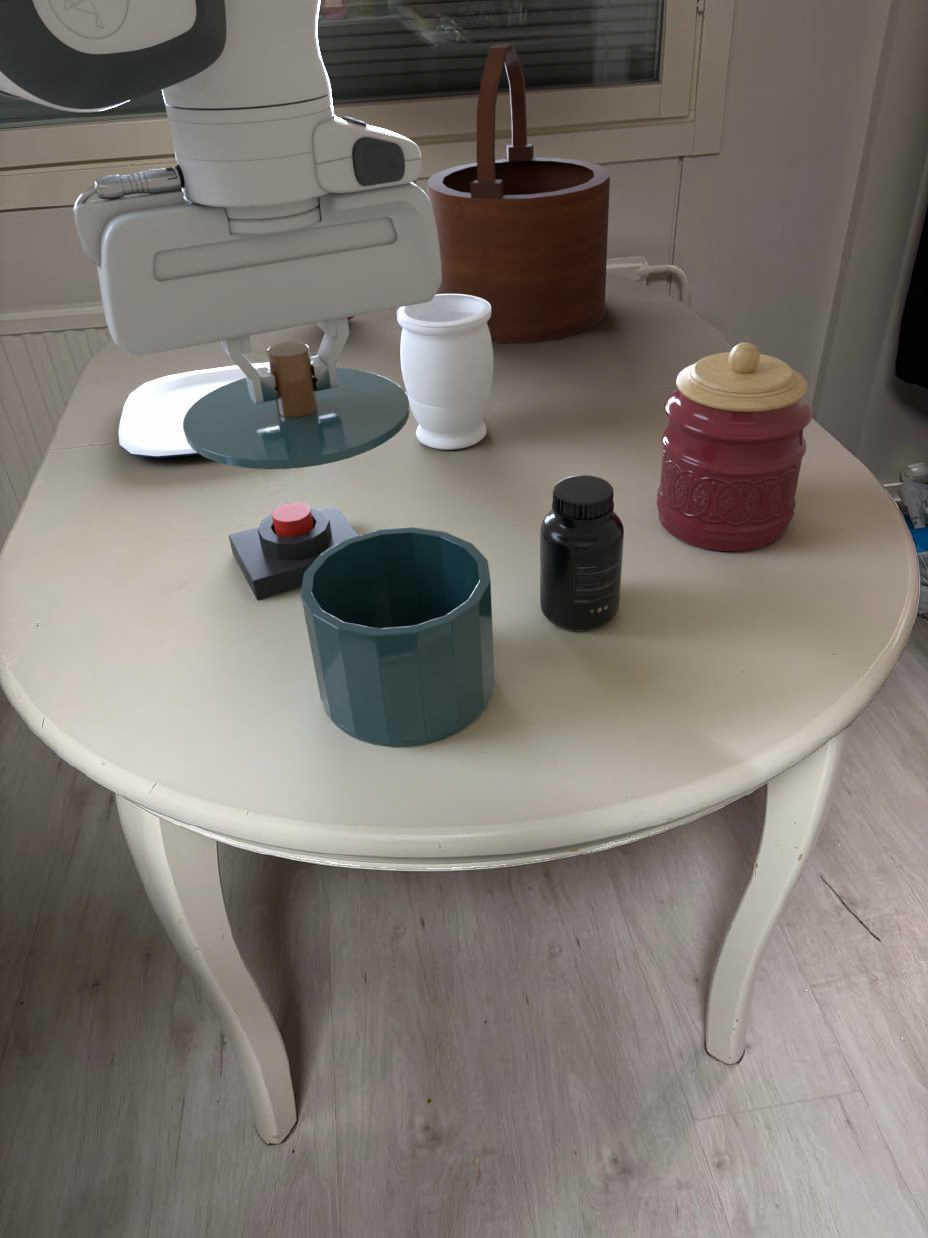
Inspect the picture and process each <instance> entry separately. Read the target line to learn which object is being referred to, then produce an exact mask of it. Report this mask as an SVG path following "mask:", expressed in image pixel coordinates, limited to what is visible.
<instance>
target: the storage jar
mask: <svg viewBox="0 0 928 1238" xmlns="http://www.w3.org/2000/svg"><path fill="white" fill-rule="evenodd" d="M489 566H490V565H489V560H488V558H486V557H485V556H484V554H482V553H481V551H480V550H479V549H478V548H477V547H476V546H475V545H474V544H473V542H469V541H467V540H466V539H463V538H460V537H458V536H456V535H454V534H451V533H449V532H447V531H442V530H436V529H430V528H429V529H428V528H421V527H415V526H414V527H413V526H411V527H409V526H408V527H397V528H395V527H394V528H381V529H377V530H373V531H370V532H367V533H363V534H358V536H356V537H352V538H349V539H346V540H344V541H342V542H340V543H339V544H337V545H335V546H334V547H332V548H330V549H328V550H327V551H325V552H323V553H321V555H319V556H318V558H317V559H316V560H315V561H314V562H313V564H312V565H311V566H310V567H309V568H308V569H307V571H306V572H305V573H304V576H303V582H302V587H301V588H300V589H301V590H300V599H301V603H302V609H303V614H304V618H305V624H306V625H305V626H306V630H307V634H308V640H309V646H310V651H311V656H312V662H313V666H314V672H315V676H316V682H317V688H318V693H319V697H320V700H321V702H322V704H323V708H324V710H325V712H326V714H327V716H328V717H329V719H330V720H331V721H332V722H333V724H334V725H335V726H336V727H337V728H338V729H340V730H341V731H343V732H344V733H345V734H347V735H349V736H350V737H353V738H354V739H357V740H360V741H362V742H365V743H368V744H372V745H375V746H377V745H378V746H383V747H395V748H396V747H400V748H401V747H415V746H422V745H427V744H432V743H435V742H438V741H442V740H445V739H447V738H450V737H452V736H454V735H456V734H457V733H459V732H462V731H463V730H464V729H466V728H467V727H469V726H470V725H471V724H473V723H474V722H475V721H476V720H477V719H479V717H481V715H482V714H483V713H484V711H486V709H487V707H488V705H489V703H490V702H491V699H492V696H493V692H494V688H495V686H496V682H495V681H496V680H495V679H496V678H495V657H494V655H495V654H494V633H493V632H494V630H493V609H492V608H493V607H492V584H491V583H492V582H491V581H492V580H491V573H490V567H489Z"/></svg>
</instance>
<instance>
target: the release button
mask: <svg viewBox="0 0 928 1238" xmlns="http://www.w3.org/2000/svg"><path fill="white" fill-rule="evenodd" d="M311 508H312V507H310V505H308V504H307V503H304V502H300V501H291V502H285V503H283V504H280V505H278V506H276V507H275V508H274V509H273V510H272V512H271V514H272V518H273V523H274V528H275V532H276V534H278V535H280V536H283V537H295V536H299V535H302V534H306V533H307V532H309V531H310V530H312V529H313V519H312V513H311Z"/></svg>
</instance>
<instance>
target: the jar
mask: <svg viewBox="0 0 928 1238" xmlns="http://www.w3.org/2000/svg"><path fill="white" fill-rule="evenodd" d="M490 317H491V305H490V304H489V302H487V301H486V300H484V299H482V298H479V297H476V296H471V295H465V294H437V295H435V296H434V297H433V299H432V300H431V301H430V302H426V303H421V304H415V305H410V306H405V307H399V308H397V310H396V321H397V323H398V324H399V326H400V327H402V329H401V333H400V334H401V335H400V344H399V345H400V347H399V349H400V350H399V352H400V354H399V357H400V358H399V359H400V369H401V376H402V381H403V384H404V388H405V390H406V394H407V396H408V399H409V407H410V411H411V413H412V415H413V417H414V419H415V421H416V422H417V424H418V426H417V428H416V431H415V436H416V438H417V440H418V442H420V444H422V445H424V446H426V447H428V448H432V449H435V450H446V451H448V450H450V451H451V450H461V449H465V448H469V447H472V446H474V445H477V444H478V443H480V442H481V441H482V440H483V439H484V438H485V437H486V435H487V433H488V430H487V426H486V424H485V422H484V419H485V416H486V414H487V411H488V409H489V403H490V398H491V388H492V382H493V375H494V374H493V373H494V350H493V342H492V341H491V336H490V331H489V328H488V325H487V321H488V320H489V319H490Z"/></svg>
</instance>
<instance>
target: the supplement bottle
mask: <svg viewBox="0 0 928 1238" xmlns="http://www.w3.org/2000/svg"><path fill="white" fill-rule="evenodd" d="M614 493H615V491H614V487H613V486H612V484H611V483H610V482H609V481H607V480H606V479H604V478H601V477H598V476H595V475H590V474H588V475H587V474H582V475H581V474H578V475H571V476H567V477H565V478H562V479H560V480H558V482H556V483H555V485H554V486H553V488H552V501H551V511H549V512H548V513H547V514H546V516H545V517H543V520H542V522H541V523H540V524H541V525H540V531H539V552H540V553H539V558H540V559H539V586H540V587H539V590H540V592H539V596H540V597H539V598H540V599H539V600H540V609H541V612H542V613H543V614H542V615H544V617H545V618H546V619H547V620H548V621H549V622H550V623H551V624H553V625H555V626H556V627H558V628H561V629H563V630H568V631H574V632H587V631H595V630H598V629H600V628H602V627H605V626H607V625H608V624H610V623H611V622H612V621H613V620H614V619H615V617H616V616H617V614H618V612H619V609H620V601H621V587H622V586H621V584H622V569H623V554H624V539H625V537H624V536H625V528H624V524H623V522H622V519H621V518H620V516H619V515H618V514H617V513H616V512H615V511H614V510H615V501H614V497H615V496H614Z"/></svg>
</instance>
